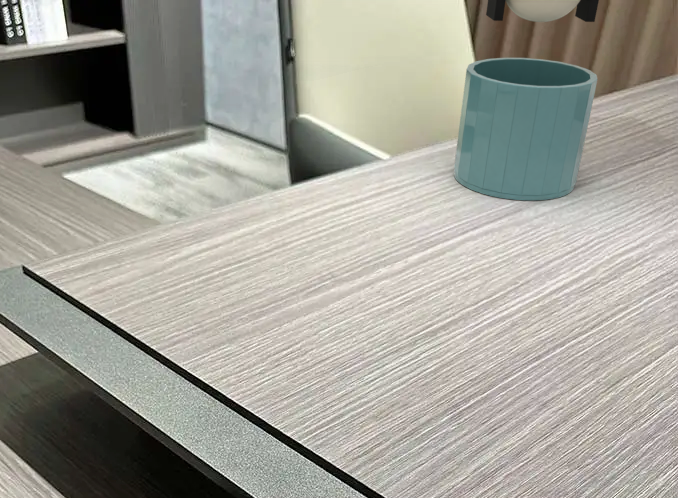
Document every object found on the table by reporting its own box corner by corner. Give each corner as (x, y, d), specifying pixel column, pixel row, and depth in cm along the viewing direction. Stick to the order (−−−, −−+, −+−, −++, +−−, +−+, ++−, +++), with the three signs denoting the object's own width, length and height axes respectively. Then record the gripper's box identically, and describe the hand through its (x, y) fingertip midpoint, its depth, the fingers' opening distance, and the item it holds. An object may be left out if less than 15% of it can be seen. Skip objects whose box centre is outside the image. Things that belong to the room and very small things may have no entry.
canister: (552, 159, 83) (572, 58, 78) (592, 200, 73) (617, 88, 68) (443, 159, 82) (455, 57, 77) (468, 200, 73) (484, 87, 68)
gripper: (469, -331, 55) (432, 25, 67) (760, -323, 56) (673, 28, 67) (446, -312, 62) (416, 9, 73) (707, -305, 62) (636, 12, 74)
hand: (539, 18), depth 70 cm, fingers closed on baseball, 7 cm apart
